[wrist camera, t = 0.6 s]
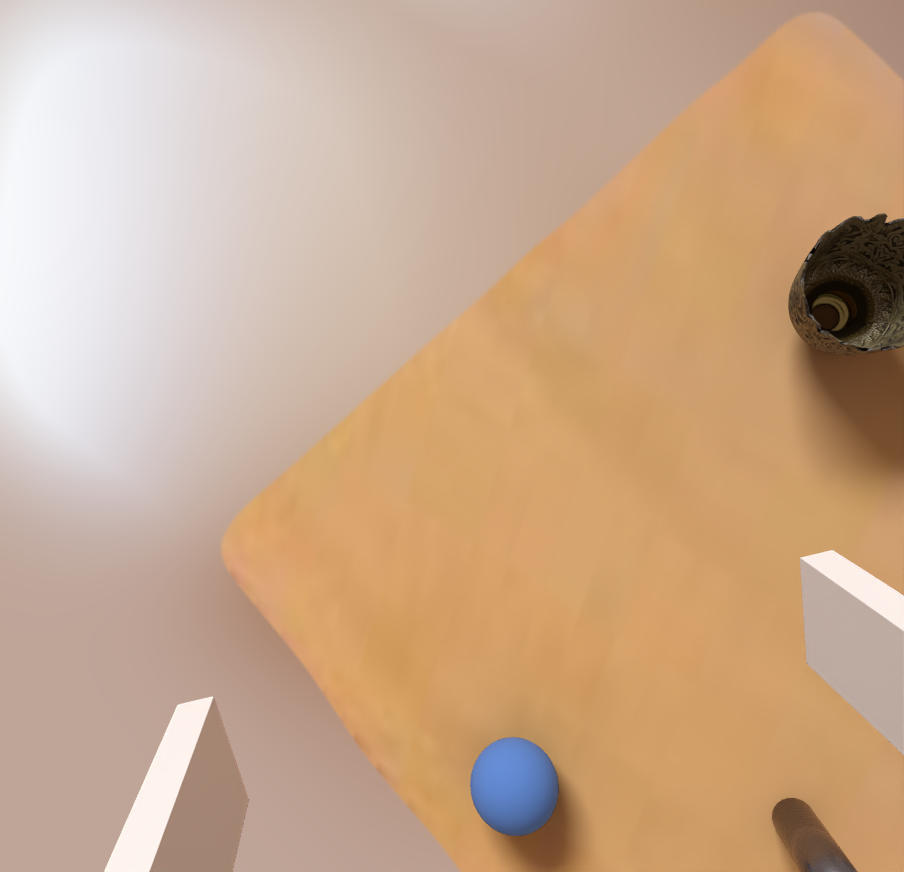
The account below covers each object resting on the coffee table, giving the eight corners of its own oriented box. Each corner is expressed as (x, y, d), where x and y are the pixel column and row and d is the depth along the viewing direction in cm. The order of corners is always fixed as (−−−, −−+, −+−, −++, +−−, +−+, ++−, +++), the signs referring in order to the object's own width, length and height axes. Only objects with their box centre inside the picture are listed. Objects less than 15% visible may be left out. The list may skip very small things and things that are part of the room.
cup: (846, 395, 44) (905, 375, 36) (741, 337, 45) (776, 306, 37) (910, 295, 44) (984, 253, 36) (803, 241, 45) (851, 188, 37)
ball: (574, 753, 45) (574, 789, 40) (536, 826, 45) (530, 873, 40) (500, 709, 46) (490, 738, 41) (462, 781, 46) (447, 820, 41)
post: (822, 812, 42) (887, 898, 33) (803, 848, 42) (864, 943, 34) (783, 790, 43) (837, 869, 34) (765, 825, 43) (814, 913, 34)
